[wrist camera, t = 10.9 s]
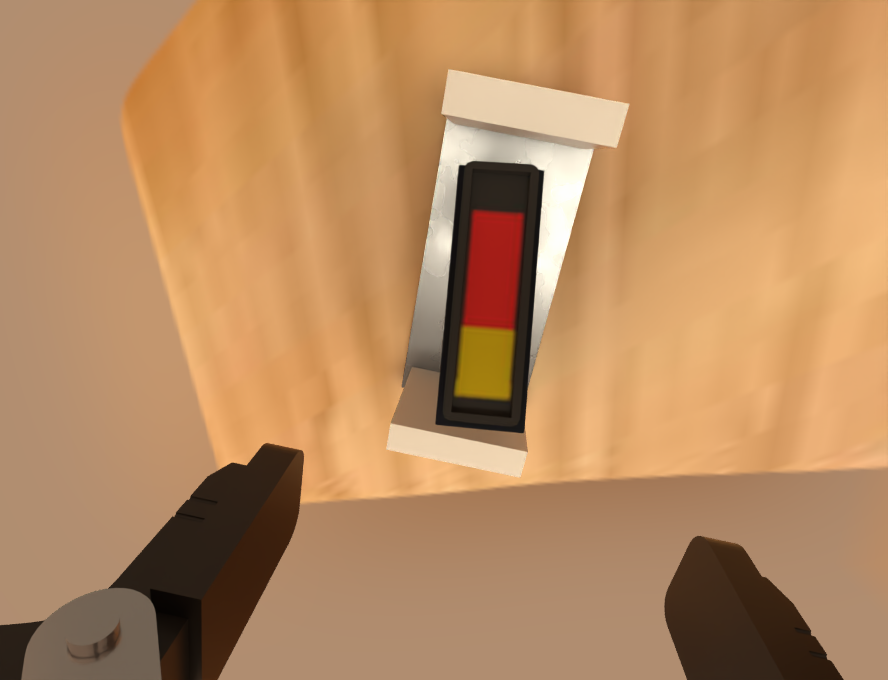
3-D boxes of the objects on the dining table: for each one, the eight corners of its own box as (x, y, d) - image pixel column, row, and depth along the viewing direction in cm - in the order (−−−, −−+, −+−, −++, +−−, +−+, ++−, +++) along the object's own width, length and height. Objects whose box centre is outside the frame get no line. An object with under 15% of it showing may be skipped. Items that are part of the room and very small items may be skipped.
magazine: (450, 406, 34) (432, 427, 19) (466, 224, 35) (461, 111, 20) (504, 412, 34) (527, 436, 19) (518, 228, 35) (551, 116, 20)
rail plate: (452, 91, 30) (451, 89, 29) (598, 119, 29) (602, 118, 29) (403, 381, 37) (401, 387, 36) (520, 405, 37) (521, 411, 36)
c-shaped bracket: (459, 90, 29) (448, 69, 21) (593, 116, 29) (629, 103, 21) (408, 388, 36) (386, 449, 29) (514, 410, 36) (520, 477, 28)
